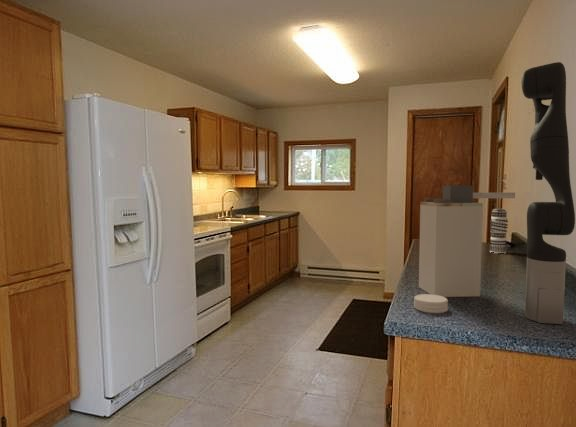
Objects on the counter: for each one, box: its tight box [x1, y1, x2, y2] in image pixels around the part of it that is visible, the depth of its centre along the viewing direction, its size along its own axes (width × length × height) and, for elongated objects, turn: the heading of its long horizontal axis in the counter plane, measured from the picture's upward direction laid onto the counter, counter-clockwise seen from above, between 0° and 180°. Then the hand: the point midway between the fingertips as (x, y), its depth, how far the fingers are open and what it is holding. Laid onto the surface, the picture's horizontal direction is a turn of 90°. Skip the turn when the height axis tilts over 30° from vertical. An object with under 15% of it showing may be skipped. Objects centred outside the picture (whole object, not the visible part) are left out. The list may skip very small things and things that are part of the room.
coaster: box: [413, 293, 449, 314], centre depth 122 cm, size 10×10×4 cm
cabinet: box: [418, 198, 484, 298], centre depth 141 cm, size 16×14×33 cm
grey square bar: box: [442, 185, 516, 203], centre depth 140 cm, size 24×6×6 cm, turn 93°
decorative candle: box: [489, 208, 509, 254], centre depth 225 cm, size 9×9×25 cm
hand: (543, 179), depth 146 cm, fingers open, 8 cm apart
